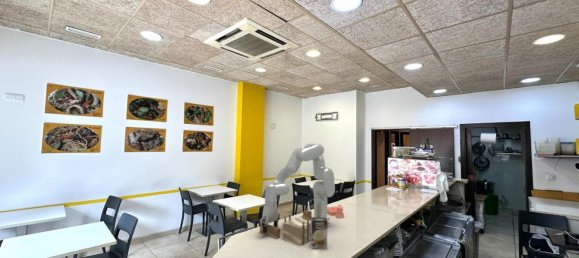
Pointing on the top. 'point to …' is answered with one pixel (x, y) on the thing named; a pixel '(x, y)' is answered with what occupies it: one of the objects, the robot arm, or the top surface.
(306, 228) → the open wooden box
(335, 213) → the pink lumpy piece
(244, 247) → the top surface
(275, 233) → the plank
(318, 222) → the coffee box
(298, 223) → the lid
